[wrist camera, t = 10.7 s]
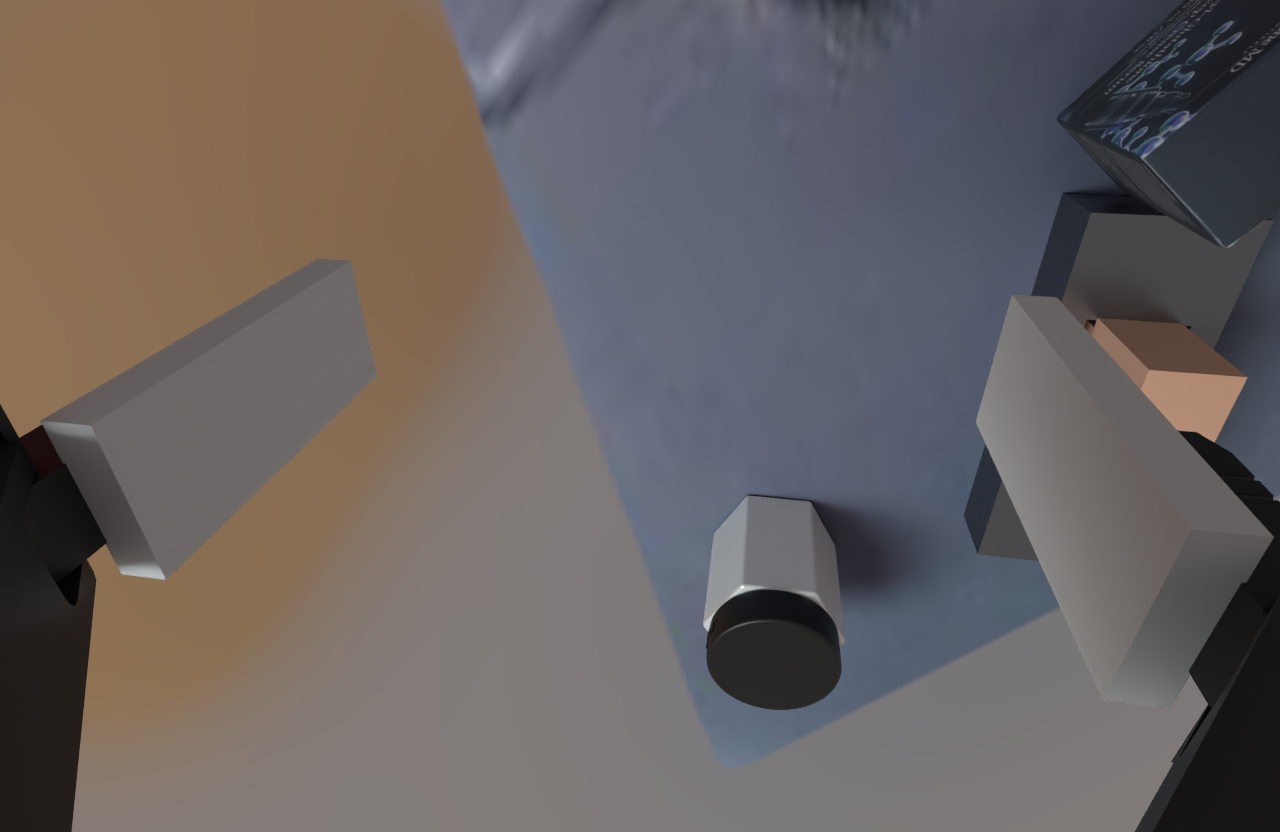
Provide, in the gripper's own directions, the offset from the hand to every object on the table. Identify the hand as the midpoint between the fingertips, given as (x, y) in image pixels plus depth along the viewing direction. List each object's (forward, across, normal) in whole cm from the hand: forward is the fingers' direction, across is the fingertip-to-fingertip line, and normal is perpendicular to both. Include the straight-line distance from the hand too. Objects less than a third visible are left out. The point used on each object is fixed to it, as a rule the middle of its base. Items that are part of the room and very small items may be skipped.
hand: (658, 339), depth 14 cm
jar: (+29, +5, -29) cm, 41 cm away
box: (+29, +21, +2) cm, 36 cm away
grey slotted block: (+28, +22, -14) cm, 39 cm away
